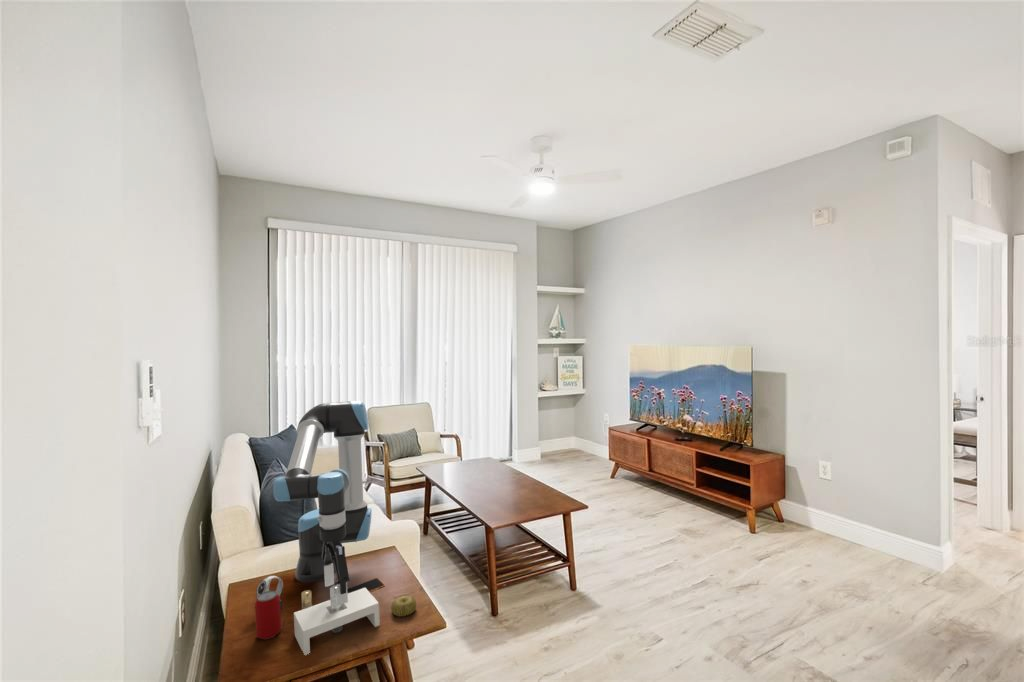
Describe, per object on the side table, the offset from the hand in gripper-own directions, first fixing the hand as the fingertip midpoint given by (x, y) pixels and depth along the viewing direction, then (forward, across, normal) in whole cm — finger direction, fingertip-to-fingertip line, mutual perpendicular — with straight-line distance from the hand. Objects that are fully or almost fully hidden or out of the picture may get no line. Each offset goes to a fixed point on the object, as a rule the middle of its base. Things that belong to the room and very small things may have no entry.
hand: (336, 594), depth 147 cm
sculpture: (+12, +4, +20) cm, 23 cm away
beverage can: (+11, -12, -17) cm, 24 cm away
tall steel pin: (+11, 0, 0) cm, 11 cm away
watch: (+11, -26, -14) cm, 32 cm away
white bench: (+11, 0, 0) cm, 11 cm away
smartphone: (+12, -19, +13) cm, 26 cm away
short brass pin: (+11, -16, -5) cm, 20 cm away
